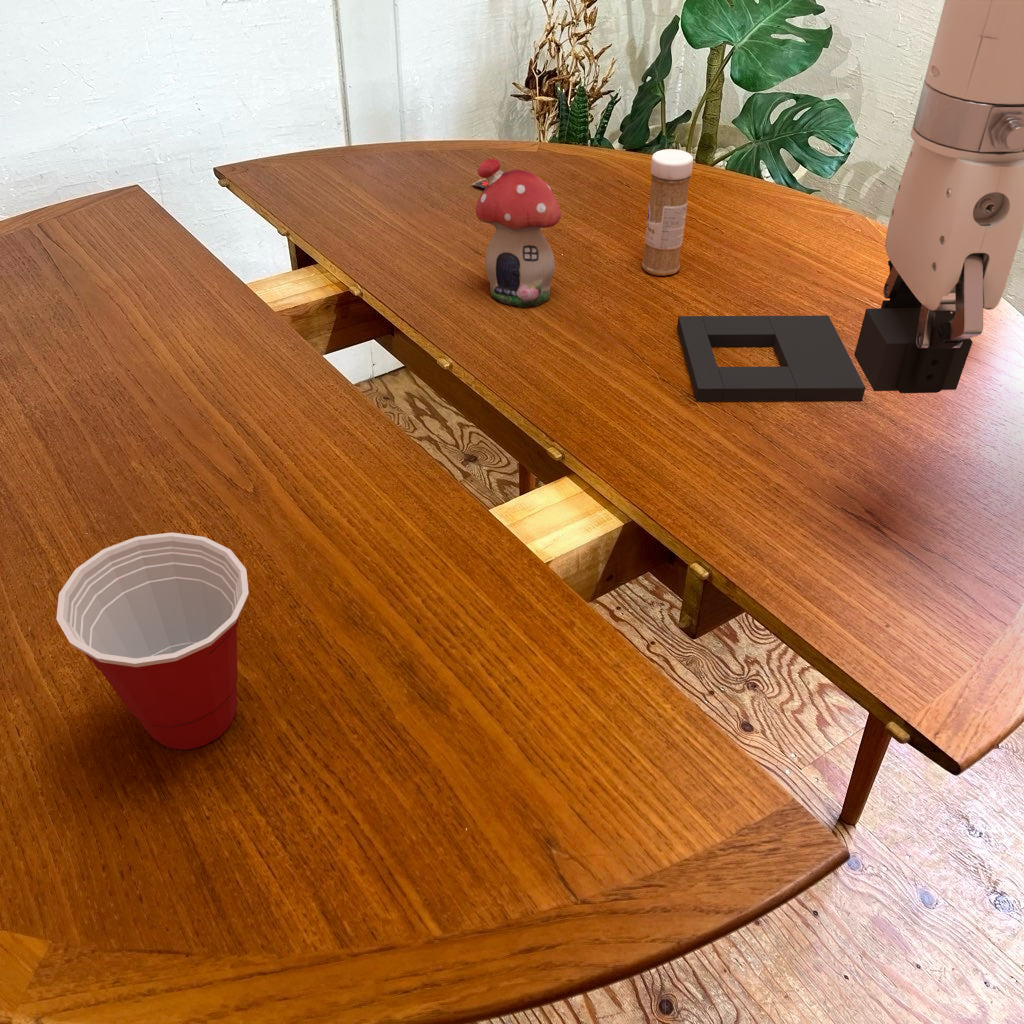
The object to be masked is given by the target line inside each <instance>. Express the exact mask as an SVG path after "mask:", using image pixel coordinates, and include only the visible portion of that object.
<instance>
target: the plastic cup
mask: <svg viewBox="0 0 1024 1024" xmlns="http://www.w3.org/2000/svg"><path fill="white" fill-rule="evenodd" d="M249 593H250V592H249V582H248V574H247V568H246V567H245V565H244V564H243V563H242V562H241V560H239V558H238V557H237V556H236V554H235V553H234V552H233V550H232V549H231V548H229V547H226V546H224V545H222V544H220V543H218V542H217V541H214V540H212V539H210V538H208V537H206V536H203V535H202V536H201V535H193V534H186V533H179V532H164V533H155V534H147V535H139V536H138V535H137V536H135V537H132V538H129V539H127V540H124V541H121V542H118V543H116V544H113V545H111V546H108V547H105V548H103V549H101V550H100V551H99V552H97V553H95V554H94V555H93V556H91V557H90V558H89V559H87V560H86V561H84V562H83V563H81V564H80V565H79V566H78V567H76V568H75V569H74V571H73V572H72V573H71V575H70V577H69V578H68V580H67V581H66V583H65V584H64V585H63V586H62V588H61V590H60V591H59V592H58V599H57V610H56V621H57V623H58V625H59V626H60V628H61V630H62V632H63V633H64V636H65V637H66V640H68V643H69V644H70V645H71V646H72V647H73V648H74V649H76V650H78V651H80V652H82V653H83V654H85V655H86V657H87V658H88V660H90V661H92V663H93V665H94V666H95V668H96V669H97V670H98V671H100V672H101V674H102V675H103V676H104V677H105V679H106V680H107V681H108V683H109V684H110V686H111V687H112V688H113V690H114V691H115V692H116V694H117V695H118V697H119V698H120V699H121V701H122V702H123V703H124V704H125V707H126V708H127V709H128V710H129V711H130V713H131V714H132V716H133V717H134V718H136V719H138V721H139V722H140V723H141V726H143V728H144V729H145V731H146V732H147V733H148V735H149V736H150V737H151V738H152V739H154V740H155V741H156V742H157V743H159V744H160V745H162V746H164V747H166V748H167V749H173V750H182V751H187V750H188V751H189V750H192V749H197V748H201V747H204V746H206V745H209V743H212V742H213V741H215V740H217V739H219V738H220V737H221V736H223V734H224V733H225V732H226V731H227V730H228V729H229V728H230V727H231V726H232V723H233V721H234V718H235V716H236V713H237V707H238V693H237V689H238V688H237V681H238V678H239V677H238V626H239V617H240V616H241V613H242V611H243V608H244V606H245V604H246V602H247V599H248V598H249Z"/></svg>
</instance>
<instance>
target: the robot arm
mask: <svg viewBox="0 0 1024 1024" xmlns="http://www.w3.org/2000/svg"><path fill="white" fill-rule="evenodd" d="M931 49H932V50H931V53H930V58H929V61H928V65H927V69H926V73H925V75H924V76H925V77H924V82H923V83H922V88H921V91H920V96H919V100H918V103H917V108H916V112H915V115H914V120H913V124H912V126H911V127H912V128H911V131H910V137H911V139H912V140H913V142H912V146H911V149H910V150H909V151H910V152H909V154H908V157H907V160H906V163H905V166H904V169H903V172H902V175H901V178H900V181H899V184H898V188H897V191H896V194H895V197H894V202H893V205H892V208H891V212H890V216H889V221H888V225H887V229H886V230H887V231H886V234H885V235H886V236H885V242H884V243H885V244H884V247H885V253H886V255H887V258H888V259H889V260H887V265H888V269H889V274H888V276H887V278H886V281H885V282H884V285H883V293H882V295H883V298H884V299H885V300H882V302H881V305H880V308H921V310H920V316H919V322H918V328H917V335H916V341H909V343H908V347H907V350H906V353H905V357H904V360H903V363H902V367H901V370H900V374H899V377H898V380H897V384H896V388H897V390H898V391H897V392H898V393H900V394H937V393H940V392H941V391H943V390H942V389H943V387H944V384H945V381H946V378H947V375H948V372H949V369H950V366H951V363H952V360H953V357H954V354H955V351H956V348H960V347H961V346H962V343H963V342H964V341H966V340H967V339H969V338H970V339H972V338H975V337H978V336H980V335H982V333H983V330H984V310H986V311H987V310H988V311H990V310H995V308H996V307H997V306H998V305H999V303H1000V301H1001V299H1002V298H1003V294H1004V291H1005V288H1006V286H1007V282H1008V279H1009V276H1010V274H1011V269H1012V266H1013V263H1014V260H1015V257H1016V253H1017V249H1018V246H1019V242H1020V239H1021V235H1022V231H1023V228H1024V0H944V1H943V7H942V10H941V14H940V18H939V21H938V26H937V30H936V34H935V38H934V41H933V45H932V48H931ZM949 293H955V300H941V299H942V297H943V296H948V294H949ZM935 312H952V317H951V320H950V321H949V322H942V323H940V324H938V325H937V326H935V327H933V324H934V318H935Z"/></svg>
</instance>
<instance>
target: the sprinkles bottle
mask: <svg viewBox="0 0 1024 1024" xmlns="http://www.w3.org/2000/svg"><path fill="white" fill-rule="evenodd" d="M693 167H694V156H693V155H692V154H691V153H689V152H688V151H685V150H682V149H675V148H674V149H673V148H668V149H660V150H658V151H656V152H654V153H653V154H652V156H651V161H650V175H651V181H650V191H649V200H648V206H647V207H648V208H647V217H646V227H645V235H644V242H645V243H644V249H643V260H642V262H641V267H642V269H643V270H644V271H645V273H648V274H649V275H653V276H659V277H660V276H671V275H675V274H677V273H678V272H679V271H680V268H681V264H680V260H681V253H682V245H683V241H684V233H685V226H686V218H687V209H688V198H689V197H688V196H689V188H690V180H691V176H692V173H693Z"/></svg>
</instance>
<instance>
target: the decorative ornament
mask: <svg viewBox="0 0 1024 1024" xmlns="http://www.w3.org/2000/svg"><path fill="white" fill-rule="evenodd" d="M477 175H478V176H479V177H480V178H481V179H482V178H483V179H485V178H486V179H487V181H488V184H487V186H486V188H484V189H483V191H482V193H481V194H480V195H479V197H478V199H477V202H476V205H475V215H476V218H477V220H479V221H480V222H482V223H485V224H490V225H492V226H493V227H494V228H495V231H494V233H493V235H492V236H491V238H490V240H489V242H488V245H487V248H486V250H485V256H484V267H485V272H486V275H487V279H488V281H489V286H490V287H489V288H490V292H489V294H490V296H491V297H493V298H494V299H495V300H496V301H498V302H500V303H501V304H504V305H509V306H514V307H517V308H518V307H519V308H526V307H536V306H539V305H542V304H543V303H545V302H548V300H549V298H550V295H551V285H552V280H553V278H554V274H555V266H556V262H555V255H554V253H553V250H552V246H551V245H550V244H549V242H548V240H547V238H546V237H545V235H544V234H543V232H542V230H541V229H547V228H552V227H554V226H556V225H557V224H559V222H560V220H561V219H562V218H561V217H562V212H561V208H560V204H559V202H558V199H557V198H556V196H555V195H554V192H553V190H552V189H551V187H550V185H549V184H548V183H546V182H545V181H544V180H543V179H541V177H539V176H537V175H536V174H534V173H533V172H531V171H528V170H525V169H519V168H517V169H516V168H515V169H512V170H508V171H502V170H501V163H500V161H499V160H498V159H496V158H494V157H493V158H487V159H485V160H484V161H482V162H481V163H480V164H479V165H478V168H477Z"/></svg>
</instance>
